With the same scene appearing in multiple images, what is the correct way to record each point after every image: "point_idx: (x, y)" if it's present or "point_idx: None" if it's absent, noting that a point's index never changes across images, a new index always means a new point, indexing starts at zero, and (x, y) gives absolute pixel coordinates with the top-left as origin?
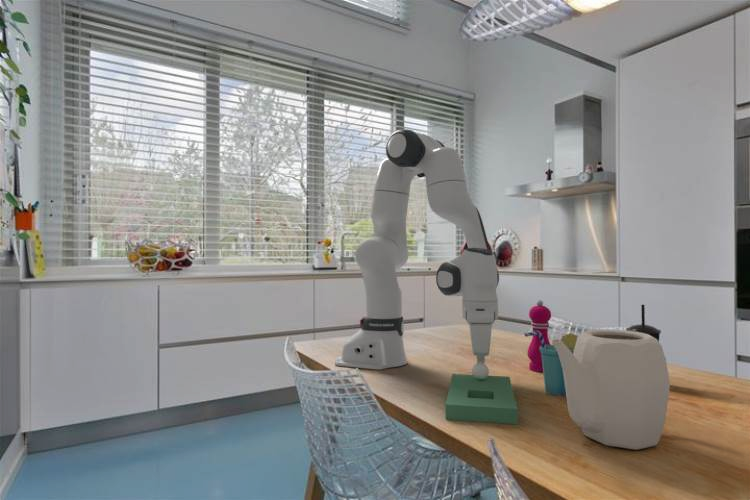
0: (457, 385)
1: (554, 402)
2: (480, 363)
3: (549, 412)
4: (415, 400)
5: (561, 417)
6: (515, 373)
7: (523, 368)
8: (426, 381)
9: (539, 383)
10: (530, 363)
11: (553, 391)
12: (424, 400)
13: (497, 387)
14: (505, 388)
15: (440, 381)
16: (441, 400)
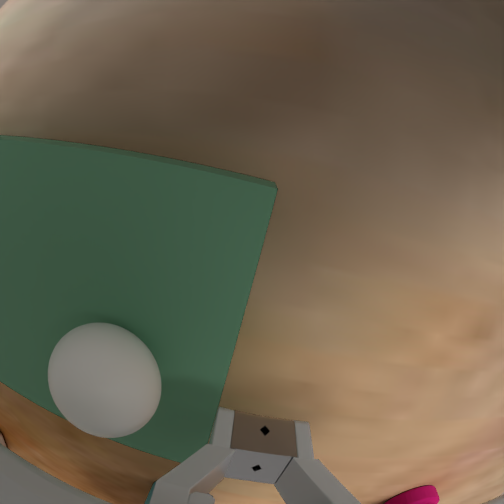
0: (10, 185)
1: (91, 454)
2: (70, 416)
3: (20, 406)
4: (57, 4)
5: (6, 407)
6: (404, 464)
7: (438, 475)
8: (378, 48)
9: (274, 495)
10: (422, 500)
11: (151, 488)
12: (49, 34)
13: (26, 364)
14: (24, 383)
15: (377, 129)
16: (37, 102)
